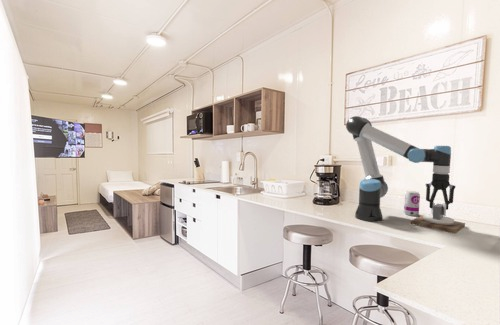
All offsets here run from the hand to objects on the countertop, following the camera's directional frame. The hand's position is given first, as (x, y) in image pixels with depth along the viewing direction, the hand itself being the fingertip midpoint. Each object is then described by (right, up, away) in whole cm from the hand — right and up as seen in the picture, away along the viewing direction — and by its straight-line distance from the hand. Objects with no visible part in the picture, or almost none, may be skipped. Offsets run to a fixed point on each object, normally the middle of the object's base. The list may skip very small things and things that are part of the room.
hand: (438, 214), depth 141 cm
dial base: (0, -6, 0) cm, 6 cm away
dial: (0, -4, 0) cm, 4 cm away
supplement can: (0, -5, +23) cm, 24 cm away
